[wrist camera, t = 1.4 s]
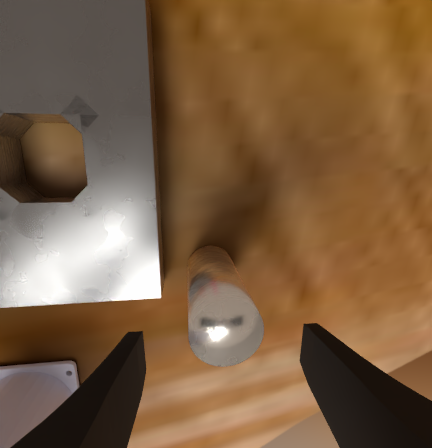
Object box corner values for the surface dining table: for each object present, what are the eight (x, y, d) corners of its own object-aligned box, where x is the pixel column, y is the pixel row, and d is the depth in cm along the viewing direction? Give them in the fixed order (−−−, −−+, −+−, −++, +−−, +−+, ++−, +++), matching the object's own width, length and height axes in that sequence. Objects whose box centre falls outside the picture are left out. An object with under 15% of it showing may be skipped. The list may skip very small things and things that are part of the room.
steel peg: (232, 286, 22) (262, 362, 13) (187, 289, 22) (189, 369, 13) (232, 244, 21) (265, 296, 13) (186, 246, 21) (187, 301, 12)
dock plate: (164, 280, 21) (161, 297, 18) (-14, 289, 20) (-49, 311, 17) (151, 12, 17) (144, -21, 14) (-80, -5, 15) (-142, -46, 12)
